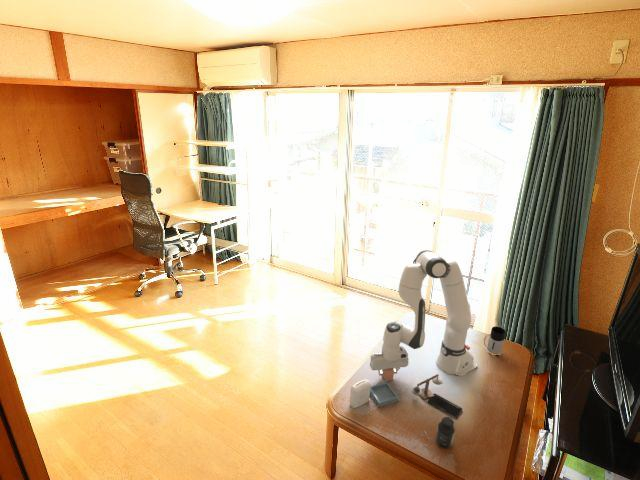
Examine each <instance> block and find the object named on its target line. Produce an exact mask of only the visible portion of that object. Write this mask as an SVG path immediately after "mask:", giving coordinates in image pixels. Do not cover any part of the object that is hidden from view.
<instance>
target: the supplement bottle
mask: <svg viewBox="0 0 640 480" xmlns="http://www.w3.org/2000/svg"><path fill="white" fill-rule="evenodd" d="M454 425H455V422H454V419H452V417H449V416H444V417H442V419H441V421H439V422H438V424H437V429H436V435H435V442H436V444H437V446H439V447H440V448H442V449H449V448H451V447H452V445H453V442H454V441H453V440H454V436H455V433H456V432H455V431H456V428H455V426H454Z"/></svg>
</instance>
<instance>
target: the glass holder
mask: <svg viewBox="0 0 640 480" xmlns="http://www.w3.org/2000/svg"><path fill="white" fill-rule="evenodd" d="M490 330H491V331H490V334H489V333H488V334H486V335H485V336H484V339H483V345H484V346H485V348H487V350H488V351H489V352H491V353H493V354H499V353H502V350H503V346H504V342H505V338H506V333H507V331H506V330H505V328H503V327H500V326H496V325H495V326H492V327H491V329H490ZM487 337H489V338H488V342H487V345H486V339H487Z"/></svg>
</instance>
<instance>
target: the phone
mask: <svg viewBox="0 0 640 480" xmlns="http://www.w3.org/2000/svg"><path fill="white" fill-rule="evenodd" d="M433 394H434V397H430V398H429V399H427V404H428V405H430V406H432V407H433V408H435V409H437V410H439V411H440V412H442V413H444V414H446V415H448V417H449V416H450V418H453V419H458V418H459V416H461V414H462V413H463V408H462V407H461V406H458V405H457V404H456V403H454V402H451V401H450V400H448V399H446V398H444V397H443V396H440V394H437V393H433Z"/></svg>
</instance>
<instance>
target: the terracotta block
mask: <svg viewBox="0 0 640 480" xmlns="http://www.w3.org/2000/svg"><path fill="white" fill-rule="evenodd" d="M394 369H395V368H391V369H382V370H381V371H382V375H381V377H382V378H383V379H384V381H385V382H388V381H390V380H394V375H395V374H394Z"/></svg>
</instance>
